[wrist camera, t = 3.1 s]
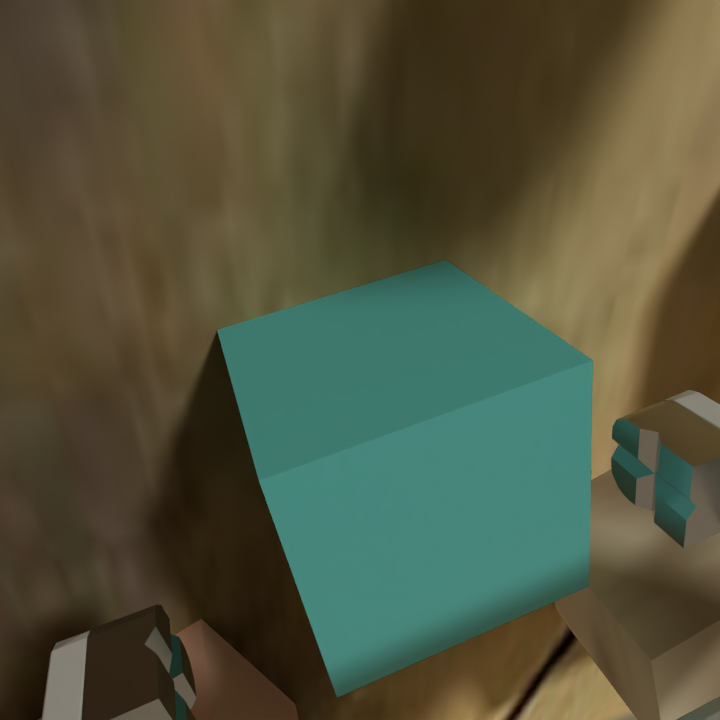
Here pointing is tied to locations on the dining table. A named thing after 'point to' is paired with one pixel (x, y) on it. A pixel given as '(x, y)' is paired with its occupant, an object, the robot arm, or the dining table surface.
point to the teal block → (417, 463)
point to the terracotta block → (229, 681)
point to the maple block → (648, 609)
